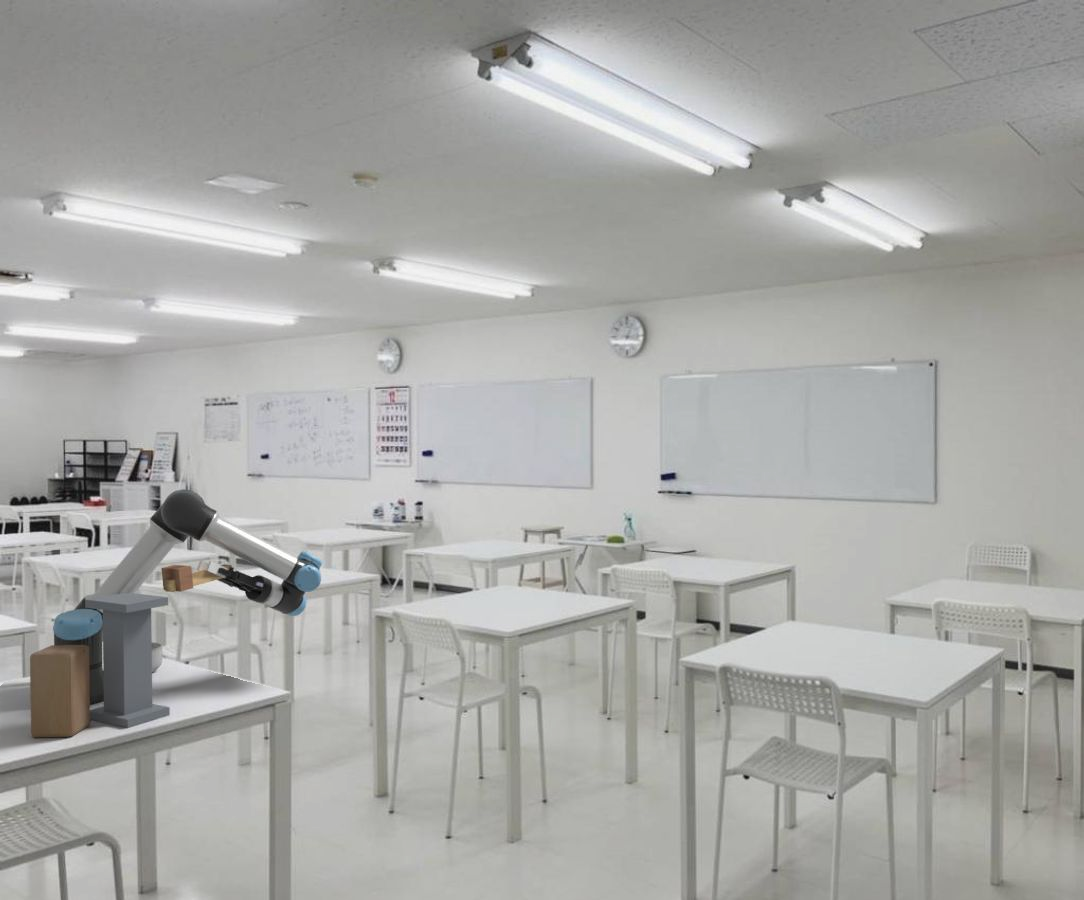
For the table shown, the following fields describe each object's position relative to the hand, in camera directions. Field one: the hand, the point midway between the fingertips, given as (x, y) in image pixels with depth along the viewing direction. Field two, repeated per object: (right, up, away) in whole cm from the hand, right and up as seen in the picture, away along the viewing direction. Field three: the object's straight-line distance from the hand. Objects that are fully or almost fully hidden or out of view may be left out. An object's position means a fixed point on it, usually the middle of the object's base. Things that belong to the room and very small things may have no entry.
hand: (204, 565), depth 254 cm
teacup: (-29, -36, +25) cm, 52 cm away
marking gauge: (-1, -5, -1) cm, 5 cm away
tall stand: (-11, -36, -21) cm, 43 cm away
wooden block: (-22, -36, -33) cm, 54 cm away
